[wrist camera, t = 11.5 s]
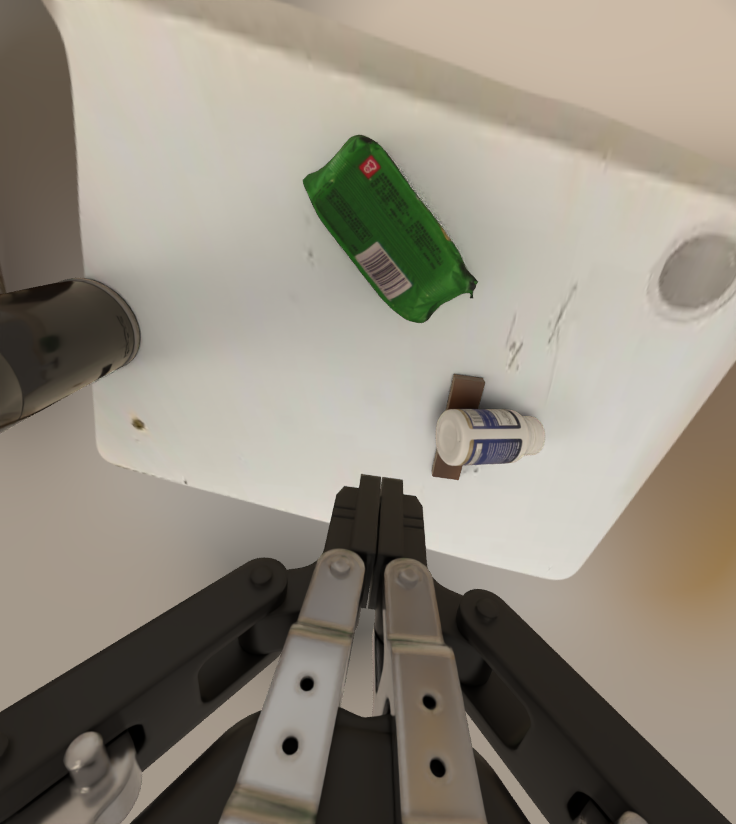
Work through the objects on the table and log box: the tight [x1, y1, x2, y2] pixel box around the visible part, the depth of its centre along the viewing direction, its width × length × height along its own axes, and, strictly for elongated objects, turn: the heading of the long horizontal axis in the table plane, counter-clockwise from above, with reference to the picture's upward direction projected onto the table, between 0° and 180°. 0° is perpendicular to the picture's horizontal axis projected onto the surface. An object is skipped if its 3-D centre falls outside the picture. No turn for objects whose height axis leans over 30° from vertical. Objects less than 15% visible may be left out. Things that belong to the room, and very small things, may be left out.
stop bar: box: [432, 374, 485, 480], centre depth 42 cm, size 3×12×1 cm, turn 173°
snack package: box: [303, 135, 478, 323], centre depth 33 cm, size 7×16×5 cm, turn 40°
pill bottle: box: [436, 409, 545, 466], centre depth 39 cm, size 5×5×10 cm
